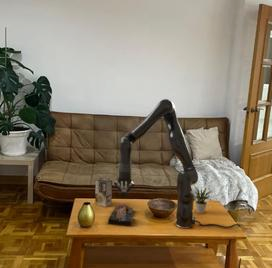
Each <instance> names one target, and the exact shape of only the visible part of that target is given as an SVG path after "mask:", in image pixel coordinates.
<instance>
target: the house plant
mask: <svg viewBox="0 0 272 268" xmlns="http://www.w3.org/2000/svg"><path fill="white" fill-rule="evenodd" d="M195 189H196V191H197V192H196V191H194V194H195V195H194V199H197V200H196V201H195V212H196V213H197V214H205V212H206V207H207V205H208V203H207V200H208V201H210V202H211V200H212V199H210V195H209V194H212V190H210V191H208V192H206V191H207V187H206V186H205V187H204V189H203V188H200V190H199V189H198V187H195Z"/></svg>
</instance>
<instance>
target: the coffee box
mask: <svg viewBox="0 0 272 268" xmlns="http://www.w3.org/2000/svg"><path fill="white" fill-rule="evenodd" d="M94 193H95V196H94V197H95V198H94V200H95V201H94V202H95V203H94V204H95V205H98V206H102V207H104V208H108V207H109V206H111V205H112V204H113V203H112V200H113V199H112V198H113V180H112V179H108V178H103V177H100V178H98V179H96V180H95V192H94Z"/></svg>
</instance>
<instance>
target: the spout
mask: <svg viewBox="0 0 272 268" xmlns="http://www.w3.org/2000/svg"><path fill="white" fill-rule="evenodd" d="M125 215H126V207H125V206H123V207H121V208H120V209H119V210H117V219H119V220H120V219H121V218H122V217H124V216H125Z"/></svg>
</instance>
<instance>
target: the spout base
mask: <svg viewBox="0 0 272 268" xmlns="http://www.w3.org/2000/svg"><path fill="white" fill-rule="evenodd" d="M134 215H135V214H133V213H132V214H126V215H125V216H124V217H122V218H121V219H120V220H119V219H117V213H113V212H111V213H110V215H109V217H108V220H107V221H108V222H107V224H108V225H111V226H112V225H113V226H123V227H132V225H133V222H134Z"/></svg>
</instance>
